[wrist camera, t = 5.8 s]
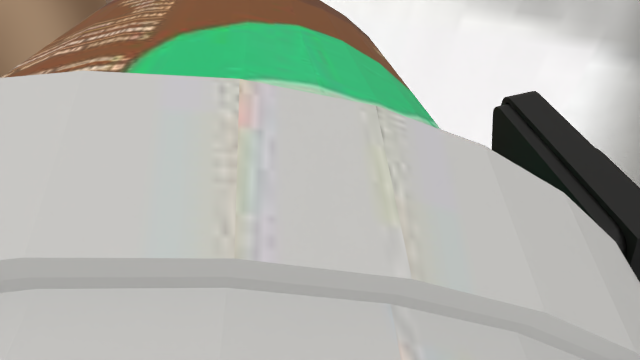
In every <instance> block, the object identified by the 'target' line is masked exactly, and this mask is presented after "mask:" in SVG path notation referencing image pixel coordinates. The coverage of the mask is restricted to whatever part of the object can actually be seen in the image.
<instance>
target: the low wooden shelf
mask: <svg viewBox="0 0 640 360" xmlns="http://www.w3.org/2000/svg"><path fill="white" fill-rule="evenodd" d="M111 1H114V0H0V78H1V77H2V76H4V75H5V74H6V73H8V72H9V71H11V70H12V69H14V68H15V67H17V66H18V65H19V64H21V63H22V62H24V61H25V60H27V59H28V58H29V57H31V56H32V55H34V54H35V53H37V52H38V51H40V50H41V49H42V48H44V47H45V46H47V45H48V44H50V43H51V42H52V41H54V40H55V39H57V38H58V37H60V36H61V35H63V34H64V33H65V32H67V31H68V30H70V29H71V28H73V27H74V26H75V25H77V24H78V23H80V22H81V21H83V20H84V19H86V18H87V17H88V16H90V15H91V14H93V13H94V12H96V11H97V10H99V9H100V8H101V7H103V6H104V5H106V4H107V3H109V2H111Z"/></svg>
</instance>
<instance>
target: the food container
mask: <svg viewBox="0 0 640 360" xmlns="http://www.w3.org/2000/svg"><path fill="white" fill-rule="evenodd" d="M0 360H640V282H639V280H638V279H637V277H636V275H635V274H634V272H633V270H632V269H631V267H630V265H629V264H628V262H627V260H626V259H625V257H624V255H623V254H622V252H621V250H620V249H619V247H618V245H617V243H616V242H615V241H614V240H613V239H612V238H611V237H610V236H609V235H608V234H607V233H606V232H605V231H604V230H603V229H602V228H600V227H599V226H598V225H597V224H596V223H595V222H594V221H593V220H592V219H591V218H590V217H589V216H588V215H587V214H586V213H585V212H584V211H583V210H582V209H580V208H579V207H578V206H577V205H576V204H575V203H574V202H573V201H572V200H571V199H570V198H569V197H568V196H567V195H566V194H565V193H564V192H562V191H560V190H559V189H557V188H555V187H553V186H552V185H550V184H548V183H547V182H545V181H543V180H542V179H540V178H538V177H537V176H535V175H533V174H532V173H530V172H528V171H526V170H525V169H523V168H521V167H520V166H518V165H516V164H515V163H513V162H511V161H510V160H508V159H506V158H505V157H503V156H501V155H500V154H498V153H496V152H494V151H493V150H491V149H489V148H488V147H486V146H484V145H481V144H479V143H476V142H473V141H471V140H468V139H465V138H462V137H460V136H457V135H454V134H451V133H449V132H446V131H443V130H441V129H440V128H439V127H438V125H437V124H436V123H435V122H434V120H433V119H432V118H431V116H430V115H429V114H428V113H427V111H426V110H425V109H424V107H423V106H422V105H421V104H420V102H419V101H418V100H417V99H416V97H415V96H414V95H413V93H412V92H411V91H410V90H409V88H408V87H407V86H406V84H405V83H404V82H403V81H402V79H401V78H400V77H399V75H398V74H397V73H396V72H395V70H394V69H393V68H392V66H391V65H390V64H389V63H388V61H387V60H386V59H385V57H384V56H383V55H382V54H381V52H380V51H379V50H378V48H377V47H376V46H375V45H374V43H373V42H372V41H371V40H370V38H369V37H368V36H367V35H366V34H365V33H364V32H363V31H361V30H360V29H359V28H358V27H357V26H356V25H355V24H354V23H352V22H351V21H350V20H349V19H348V18H347V17H346V16H344V15H343V14H341V13H340V12H338V11H336V10H335V9H333V8H331V7H330V6H328V5H327V4H325V3H323V2H322V1H320V0H114V1H111V2H109V3H107V4H106V5H104V6H103V7H101V8H100V9H99V10H97V11H96V12H94V13H93V14H91V15H90V16H88V17H87V18H86V19H84V20H83V21H81V22H80V23H78V24H77V25H75V26H74V27H73V28H71V29H70V30H68V31H67V32H65V33H64V34H63V35H61V36H60V37H58V38H57V39H55V40H54V41H52V42H51V43H50V44H48V45H47V46H45V47H44V48H42V49H41V50H40V51H38V52H37V53H35V54H34V55H32V56H31V57H29V58H28V59H27V60H25V61H24V62H22V63H21V64H19V65H18V66H17V67H15V68H14V69H12V70H11V71H9V72H8V73H6V74H5V75H4V76H2V77H1V78H0Z"/></svg>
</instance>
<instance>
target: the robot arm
mask: <svg viewBox="0 0 640 360" xmlns="http://www.w3.org/2000/svg"><path fill="white" fill-rule="evenodd" d="M492 150H493V151H494V152H496V153H498V154H500V155H501V156H503V157H505V158H506V159H508V160H510V161H511V162H513V163H515V164H516V165H518V166H520V167H521V168H523V169H525V170H526V171H528V172H530V173H532V174H533V175H535V176H537V177H538V178H540V179H542V180H543V181H545V182H547V183H548V184H550V185H552V186H553V187H555V188H557V189H559V190H560V191H562V192H564V193H565V194H566V195H567V196H568V197H569V198H570V199H571V200H572V201H573V202H574V203H575V204H576V205H577V206H578V207H579V208H580V209H582V210H583V211H584V212H585V213H586V214H587V215H588V216H589V217H590V218H591V219H592V220H593V221H594V222H595V223H596V224H597V225H598V226H599V227H600V228H602V229H603V230H604V231H605V232H606V233H607V234H608V235H609V236H610V237H611V238H612V239H613V240H614V241H615V242H616V243H617V245H618V247H619V249H620V250H621V252H622V254H623V255H624V257H625V259H626V260H627V262H628V264H629V265H630V267H631V269H632V270H633V272H634V274H635V275H636V277H637V279H638V280H639V282H640V188H639V187H638V186H637V185H636V184H635V183H634V182H633V181H632V180H631V179H630V178H629V177H628V176H627V175H625V174H624V173H623V172H622V171H621V170H620V169H619V168H618V167H617V166H616V165H615V164H614V163H613V162H612V161H611V160H610V159H609V158H608V157H607V156H606V155H605V154H604V153H602V152H601V151H600V150H598V149H597V148H595V147H594V146H593V145H591V144H590V143H589V142H588V141H587V140H586V139H585V138H584V137H583V136H582V135H581V134H580V133H579V132H578V131H577V130H576V129H575V128H574V127H573V126H572V125H571V124H570V123H569V122H568V121H567V120H566V119H565V118H564V117H563V116H561V115H560V114H559V113H558V112H557V111H556V110H555V109H554V108H553V107H552V106H551V105H550V104H549V103H548V102H547V101H546V100H545V99H544V98H543V97H542V96H541V95H540V94H539V93H537V92H536V91H532V92H527V93H523V94H518V95H513V96H509V97H505V98H504V99H503V101H502V104H501V106H498V107H495V108H494V111H493V130H492Z"/></svg>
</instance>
